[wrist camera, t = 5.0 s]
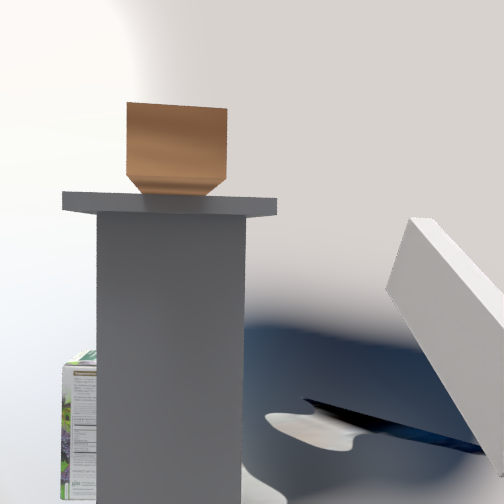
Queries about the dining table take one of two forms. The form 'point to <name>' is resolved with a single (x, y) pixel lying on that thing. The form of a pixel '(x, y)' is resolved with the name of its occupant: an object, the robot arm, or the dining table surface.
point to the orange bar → (176, 148)
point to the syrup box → (79, 428)
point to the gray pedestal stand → (169, 344)
